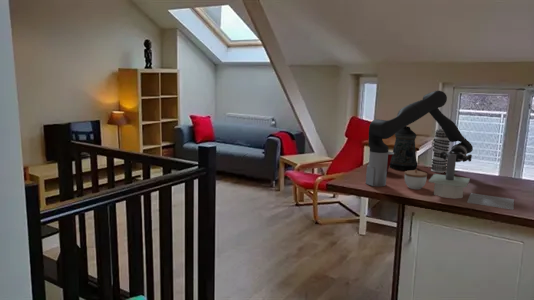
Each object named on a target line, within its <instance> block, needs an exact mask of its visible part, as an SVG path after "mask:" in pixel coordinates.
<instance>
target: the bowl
mask: <svg viewBox="0 0 534 300" xmlns="http://www.w3.org/2000/svg"><path fill="white" fill-rule="evenodd" d="M433 189H434V190H433V195H434V196H438V197H441V198H447V199H462V198H463V197H464V190H465V187H460V186H453V185H446V184H439V183H434V188H433Z"/></svg>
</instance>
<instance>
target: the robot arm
mask: <svg viewBox="0 0 534 300" xmlns="http://www.w3.org/2000/svg"><path fill="white" fill-rule="evenodd" d="M447 99H448V97H447V94H446V93H445V92H444V91H442V90H435V91H432V92H428V93H427V94H425V95H423V97H422V99H420V100H418V101H417V100H416V101H415V102H412V103H409V104H408V105H405V106H403V107H402V108H401V109H400V110H398V112H397V114H396V116H395V117H394V118H391V119H388V120H384V119H372V121H371V122H370V124H369V127H368V147H369V154H368V164H367V165H366V173H365V184H366V185H369V186H370V187H385V186H386V185H387V173H388V172H387V163H388V151H390V150H389V149H390V148H389V146H388V145H387V144H386V143H385V142H384V140H387V139H390V138H392V137H393V136H395V134H396V133H397V132H398V131H399V130H401V129H402V128H404V127H406V126H407V127H408V126H409V125H411V124H413V123H415V122H417V121H418V120H420V119H421V118H424V116H426V115H427V114H430V116H432V118H433V119H434V120H435V122H437V124H438V125H439V126H440V129H443V131H444V133H445V134H446V136H447V138H448V139H449V140H448V141H450V142H449V143H454V142H455V143H456V142H459V143H457V144H454V145H453V146H451V150H450V151H448V153H447V154H446V152H441V154H440V158H443V159H444V160H446V159H448V154H456V163H460V162H463V163H465V162H467V161H468V162H472V157H473V156H472V154H470V153H471V152H472V151H473V145H472V143H471V142H470V141H469V140H467V139H466V138H465V137H464V135H463V134H462V133H461V132H460V129H459V128H458V126H457V124H456V123H455V122H454V121H453V120H452V119H450V118H449V117H448V116H446V115H445V114H444V113H442V112H441V110H440V108H442V107H444V106H445V105H446V103H447Z"/></svg>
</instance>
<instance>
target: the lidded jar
mask: <svg viewBox="0 0 534 300" xmlns="http://www.w3.org/2000/svg"><path fill="white" fill-rule="evenodd" d="M427 177H428V173H427V172H425V171H422V170H418V169H417V168H416V169H415V170H409V171H404V183H405V185H406V186H407V187H408V189H411V190H422V189H423V187H424V186H425V185H426V182H427Z"/></svg>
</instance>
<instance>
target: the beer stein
mask: <svg viewBox="0 0 534 300" xmlns="http://www.w3.org/2000/svg"><path fill="white" fill-rule="evenodd" d="M417 136H418V135H417V134H416V133H415V131H413V129H411V127H410V126H408V125H407V126H406V127H404V128H402V129H401V130H399V131H398V132H397V133H395V134H394V137H395V140H394V145H393V149H392V150H393V151H392V152H393V153H394V154H393V156H392V158H391V162H390V165H389V169H393V170H396V171H404V170H407V171H409V170H415V169H417V168H418V164H419V163H418V161H417V156H416V155H417V154H416V153H417V152H416V139H417Z"/></svg>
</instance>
